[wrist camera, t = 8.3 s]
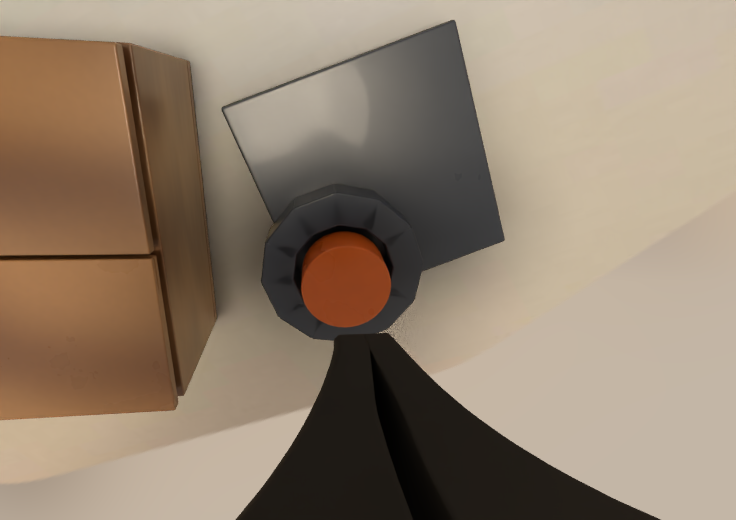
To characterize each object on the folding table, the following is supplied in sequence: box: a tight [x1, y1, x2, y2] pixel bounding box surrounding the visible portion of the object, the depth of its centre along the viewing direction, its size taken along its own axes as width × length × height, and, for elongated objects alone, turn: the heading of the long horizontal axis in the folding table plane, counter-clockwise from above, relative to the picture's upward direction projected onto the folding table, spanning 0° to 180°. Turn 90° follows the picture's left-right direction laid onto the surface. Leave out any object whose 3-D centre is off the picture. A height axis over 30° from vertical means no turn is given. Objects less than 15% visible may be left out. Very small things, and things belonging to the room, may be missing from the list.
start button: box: [301, 231, 391, 327], centre depth 15 cm, size 3×3×2 cm
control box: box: [222, 20, 505, 341], centre depth 16 cm, size 10×10×3 cm
